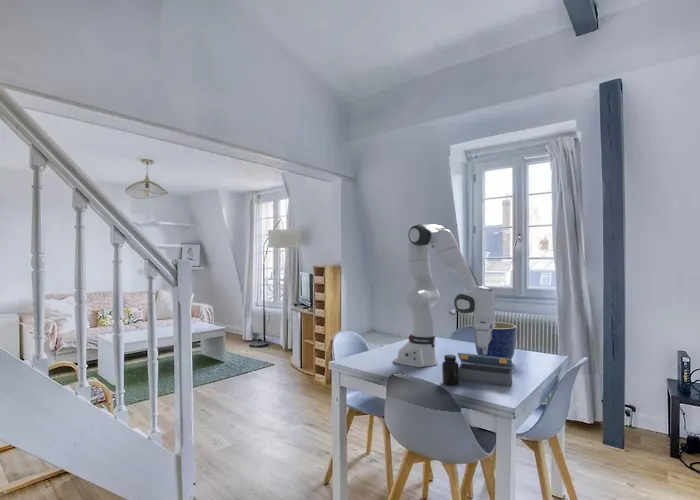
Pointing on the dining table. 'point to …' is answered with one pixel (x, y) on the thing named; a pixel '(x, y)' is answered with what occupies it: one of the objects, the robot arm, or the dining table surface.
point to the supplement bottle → (450, 371)
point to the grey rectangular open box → (485, 374)
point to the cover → (485, 360)
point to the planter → (500, 341)
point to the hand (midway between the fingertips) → (485, 353)
